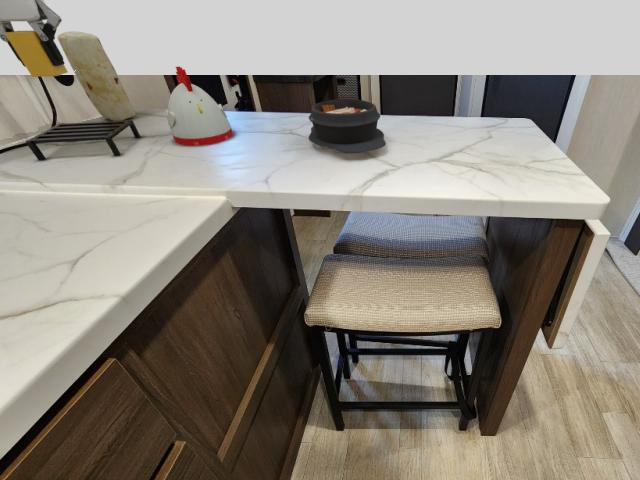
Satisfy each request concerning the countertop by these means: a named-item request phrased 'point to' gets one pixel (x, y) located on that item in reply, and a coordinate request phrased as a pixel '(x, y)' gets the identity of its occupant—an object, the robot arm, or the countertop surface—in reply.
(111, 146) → the rack
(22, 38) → the block
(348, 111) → the casserole
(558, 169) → the countertop surface
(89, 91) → the food model
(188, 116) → the kitchen timer
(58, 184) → the countertop surface
